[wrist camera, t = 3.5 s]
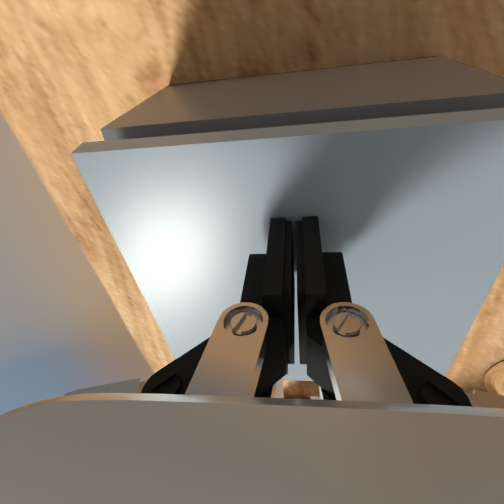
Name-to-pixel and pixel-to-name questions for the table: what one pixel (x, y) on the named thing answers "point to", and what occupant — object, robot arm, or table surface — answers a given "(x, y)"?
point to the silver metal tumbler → (495, 379)
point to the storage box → (312, 98)
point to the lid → (314, 204)
